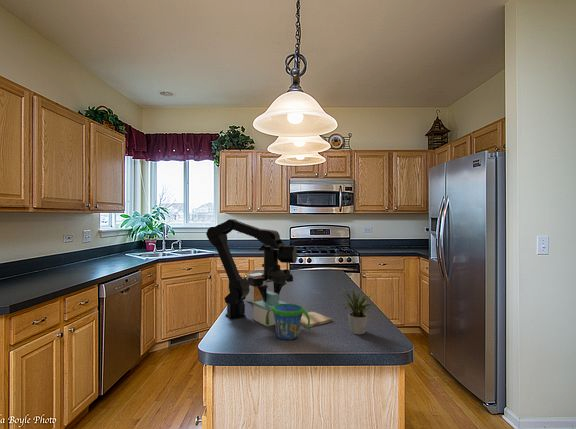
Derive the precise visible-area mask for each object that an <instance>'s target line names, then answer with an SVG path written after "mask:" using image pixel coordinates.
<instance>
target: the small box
mask: <svg viewBox="0 0 576 429" xmlns="http://www.w3.org/2000/svg"><path fill="white" fill-rule="evenodd" d="M262 274H264V272H263V273H261V272H255V273H250V274H249V273H248V274H245V275H246V279H247V280H248V278H249V277H255V276H257V277H260V278H264V277H262ZM249 289H250V291H249V294H248V295H247V296H246V298H245V301H246V302H249V303H252V304H253V302H256V301H262V300H263V298H262V295H261V293H260V291H259V289H258V287H257V286H256V287H254V286H251V285H250V286H249Z"/></svg>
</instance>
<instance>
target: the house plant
mask: <svg viewBox="0 0 576 429" xmlns="http://www.w3.org/2000/svg"><path fill="white" fill-rule="evenodd" d="M341 289H342V290H344V291H345V292H346V293H345V292H343V294H344V295H343V294H342V296H343V297H345V298H346V297H348V298H346V299H347V301H346V302H345V304H346V305H345V307H344V309H343V311H345V310H347V309H348V310H350V311H349V313H348V314H347V317H348V322H349V329H350V330H349V331H350V333H351V334H355V335H363V334H366V330H367V325H368V317H369V315H368V314H367V310H369V309H370V308H372V304H370V303H369V304H366V303H367V301H368V300H369V299H370V298H371V297H372V296H373V295H375V294H376V292H374V293H372V294H370V295H368V296H366V293H367V292H366V291H364V294H363V295H362V298H361V300H360V294H361V293H362V291H360V290H361V289H359V290H358V293H357V295H356V292H355V291H354V289H353V288H352V287H351V288H350V290H351V293H352V297H351V296H350V293H349V292H348V290H346V289H345V288H341ZM345 295H346V296H345ZM350 301H351V302H350ZM340 305H341V306H342V305H343V306H344V304H342V303H341V304H340ZM368 306H369V307H368ZM350 308H351V309H350Z"/></svg>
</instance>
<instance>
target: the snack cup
mask: <svg viewBox="0 0 576 429" xmlns="http://www.w3.org/2000/svg"><path fill="white" fill-rule="evenodd" d="M271 310H272V311H273V313H274V320H275V324H274V326H275V327H274V328H275V334H276V337H278V338H279V339H280V340H291V341H292V340H294V339H296V338H298V337H299V331H300V326H301V325H300V321H301V317H302V314H305V316H306V317H307V319H308V327H306V330H309V328H310V327H309V325H310V318H309V315H308V313H309V312H308V311H306V310H305V309H304V308H303V307H302V306H301V305H299V304H296V303H295V304H294V303H288V304H278V305H275V306H273V307H272V308H271V309H269V310H268V312H267V314H266V319H265V321H266V325H268V324H269V318H268V315H269V312H270V311H271Z"/></svg>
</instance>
